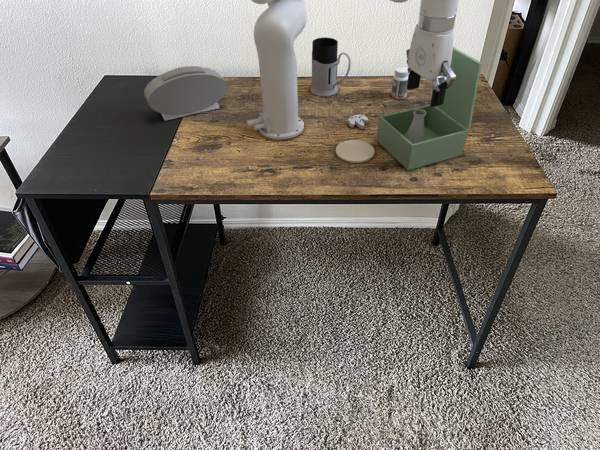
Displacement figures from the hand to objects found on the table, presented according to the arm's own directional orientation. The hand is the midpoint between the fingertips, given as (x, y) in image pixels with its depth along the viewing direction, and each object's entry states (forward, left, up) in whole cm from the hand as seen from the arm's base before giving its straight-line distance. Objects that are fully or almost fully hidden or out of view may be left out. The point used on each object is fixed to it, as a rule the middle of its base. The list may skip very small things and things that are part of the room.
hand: (424, 96), depth 108 cm
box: (+1, 0, -15) cm, 15 cm away
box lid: (+8, 0, +1) cm, 8 cm away
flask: (0, 0, -14) cm, 14 cm away
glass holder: (-6, +38, -15) cm, 41 cm away
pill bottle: (+12, +27, -15) cm, 33 cm away
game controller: (-8, +20, -15) cm, 26 cm away
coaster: (-15, +5, -15) cm, 21 cm away
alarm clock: (-49, +45, -15) cm, 68 cm away
